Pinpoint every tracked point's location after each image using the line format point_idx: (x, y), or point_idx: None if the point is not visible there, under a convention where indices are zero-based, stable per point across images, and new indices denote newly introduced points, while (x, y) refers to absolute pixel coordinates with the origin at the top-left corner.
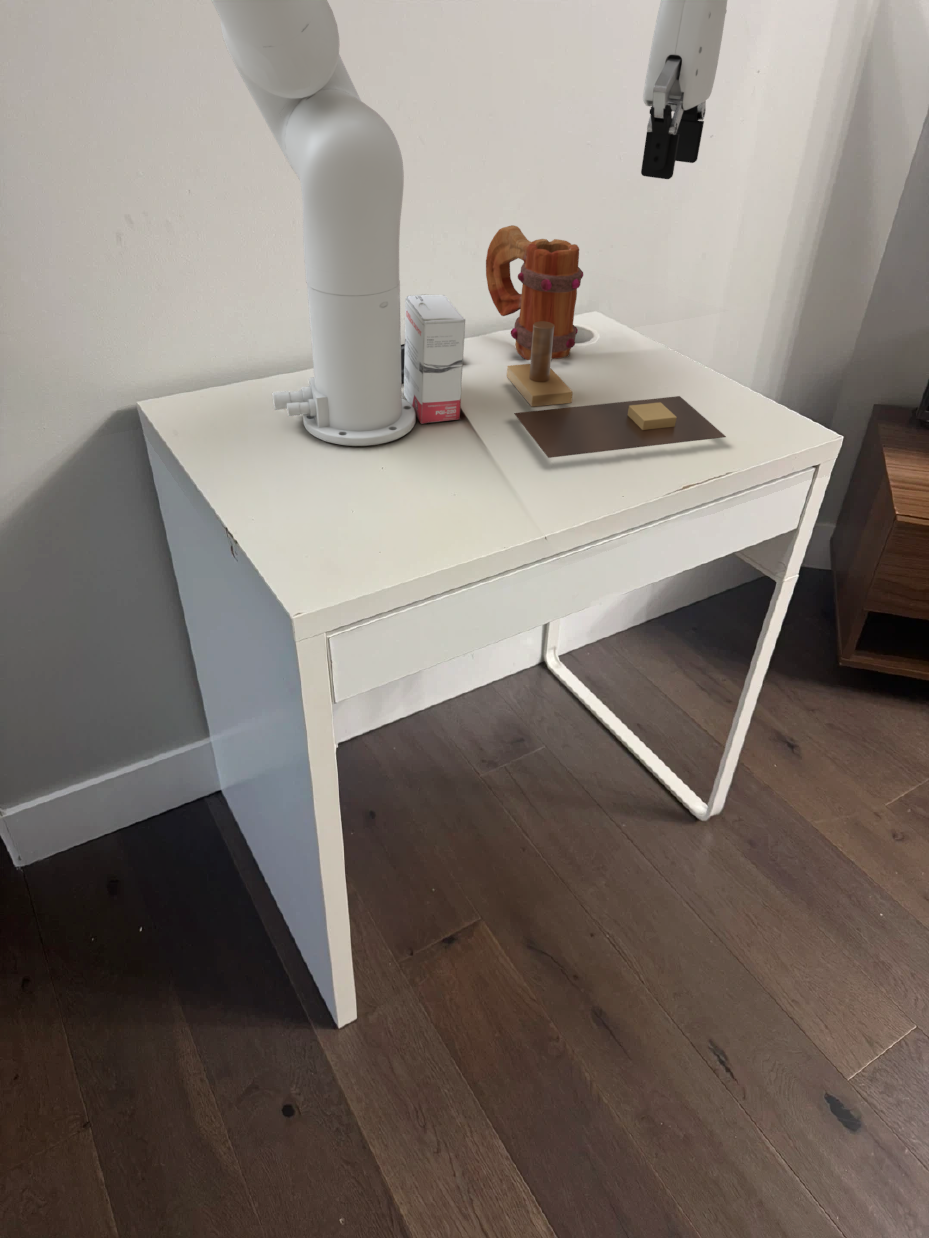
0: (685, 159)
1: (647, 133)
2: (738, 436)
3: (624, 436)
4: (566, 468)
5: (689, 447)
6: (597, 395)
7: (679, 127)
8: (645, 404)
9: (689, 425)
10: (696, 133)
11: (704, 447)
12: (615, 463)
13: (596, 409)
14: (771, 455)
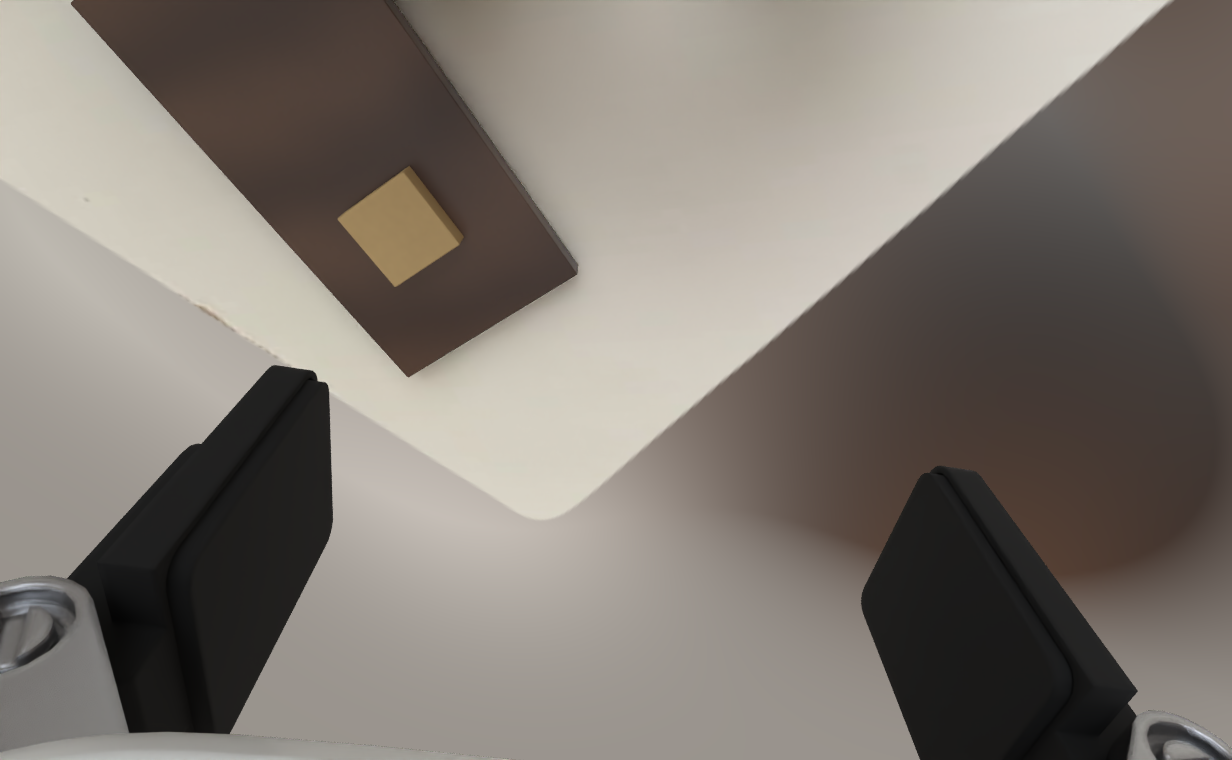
0: (882, 566)
1: (106, 557)
2: (474, 389)
3: (292, 174)
4: None
5: None
6: (564, 56)
7: (1005, 674)
8: (427, 211)
9: (424, 307)
10: (928, 742)
11: None
12: (214, 163)
13: (405, 79)
14: (420, 442)
